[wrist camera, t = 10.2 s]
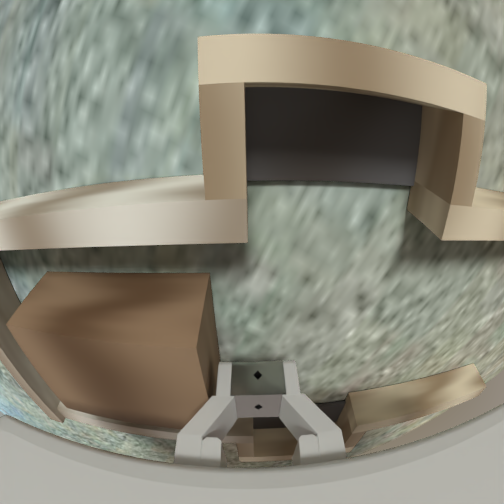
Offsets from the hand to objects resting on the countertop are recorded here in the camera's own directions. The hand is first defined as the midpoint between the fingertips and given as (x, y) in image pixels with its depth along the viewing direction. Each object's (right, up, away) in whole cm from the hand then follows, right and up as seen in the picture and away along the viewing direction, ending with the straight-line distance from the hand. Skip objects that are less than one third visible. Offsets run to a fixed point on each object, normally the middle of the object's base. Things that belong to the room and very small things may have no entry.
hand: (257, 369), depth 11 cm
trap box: (+1, +1, +2) cm, 2 cm away
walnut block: (-6, +1, +2) cm, 6 cm away
